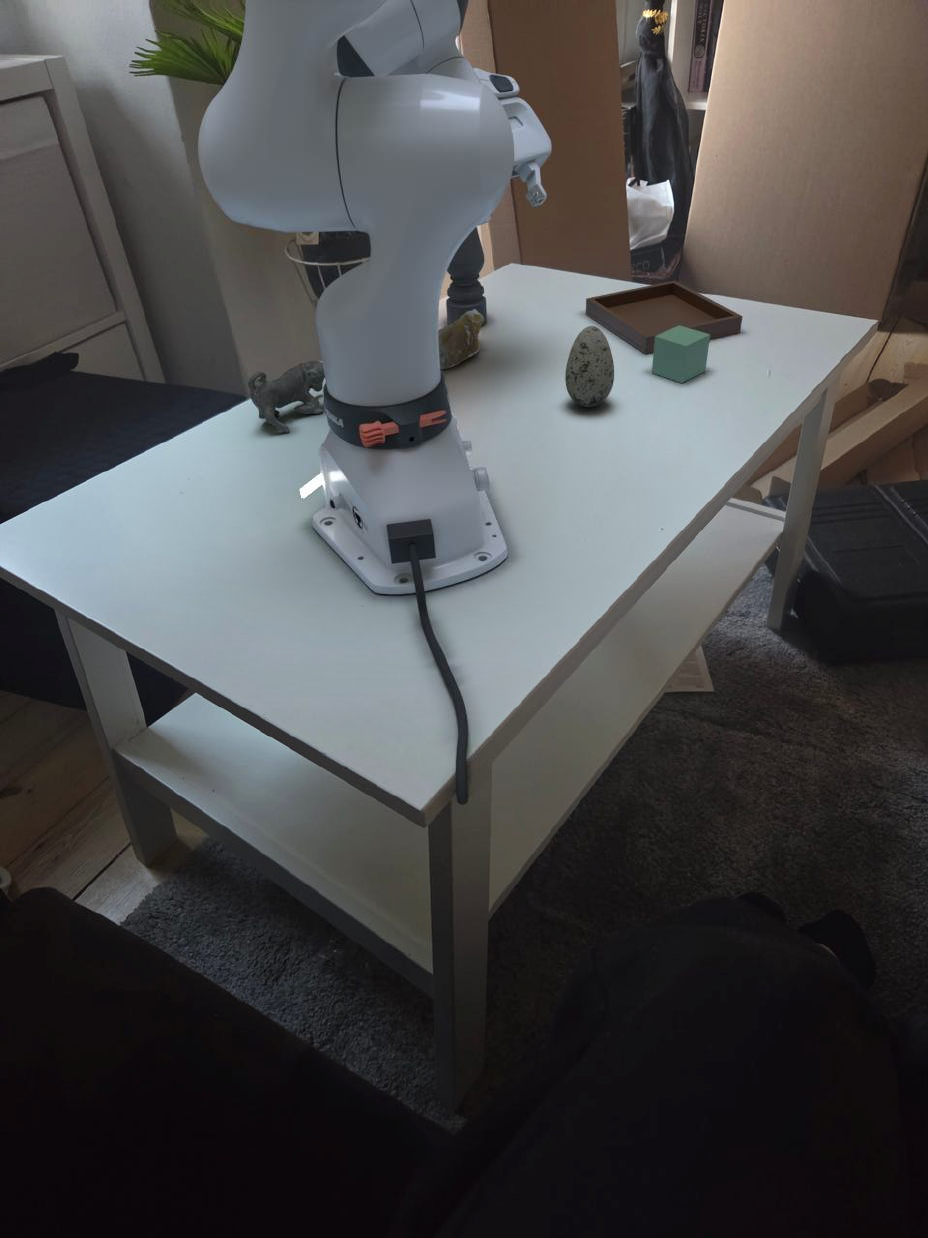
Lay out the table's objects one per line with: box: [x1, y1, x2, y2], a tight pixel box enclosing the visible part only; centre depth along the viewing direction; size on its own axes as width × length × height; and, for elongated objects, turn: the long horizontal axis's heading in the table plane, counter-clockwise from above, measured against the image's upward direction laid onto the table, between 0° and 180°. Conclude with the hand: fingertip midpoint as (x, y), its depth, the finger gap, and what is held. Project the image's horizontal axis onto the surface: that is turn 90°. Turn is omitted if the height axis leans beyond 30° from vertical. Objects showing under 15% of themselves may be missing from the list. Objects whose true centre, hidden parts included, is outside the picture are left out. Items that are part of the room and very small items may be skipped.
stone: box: [438, 309, 484, 370], centre depth 118 cm, size 7×6×15 cm
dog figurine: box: [247, 360, 325, 433], centre depth 106 cm, size 12×6×7 cm, turn 138°
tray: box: [585, 280, 743, 355], centre depth 124 cm, size 18×16×2 cm
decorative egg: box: [564, 325, 615, 408], centre depth 103 cm, size 6×6×10 cm
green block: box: [651, 325, 711, 384], centre depth 110 cm, size 5×5×5 cm
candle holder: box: [445, 226, 488, 327], centre depth 122 cm, size 6×6×25 cm
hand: (513, 211), depth 100 cm, fingers open, 8 cm apart
